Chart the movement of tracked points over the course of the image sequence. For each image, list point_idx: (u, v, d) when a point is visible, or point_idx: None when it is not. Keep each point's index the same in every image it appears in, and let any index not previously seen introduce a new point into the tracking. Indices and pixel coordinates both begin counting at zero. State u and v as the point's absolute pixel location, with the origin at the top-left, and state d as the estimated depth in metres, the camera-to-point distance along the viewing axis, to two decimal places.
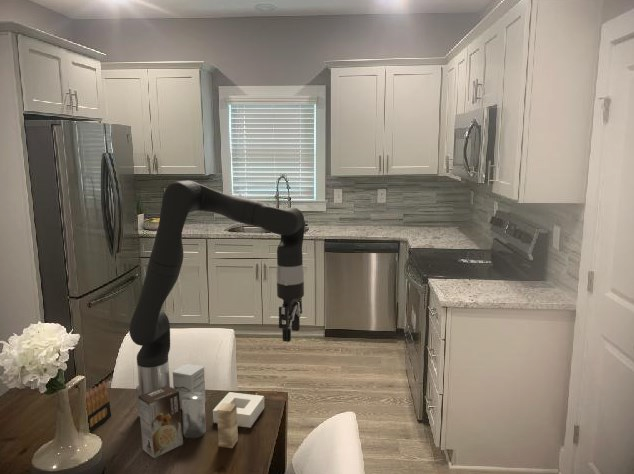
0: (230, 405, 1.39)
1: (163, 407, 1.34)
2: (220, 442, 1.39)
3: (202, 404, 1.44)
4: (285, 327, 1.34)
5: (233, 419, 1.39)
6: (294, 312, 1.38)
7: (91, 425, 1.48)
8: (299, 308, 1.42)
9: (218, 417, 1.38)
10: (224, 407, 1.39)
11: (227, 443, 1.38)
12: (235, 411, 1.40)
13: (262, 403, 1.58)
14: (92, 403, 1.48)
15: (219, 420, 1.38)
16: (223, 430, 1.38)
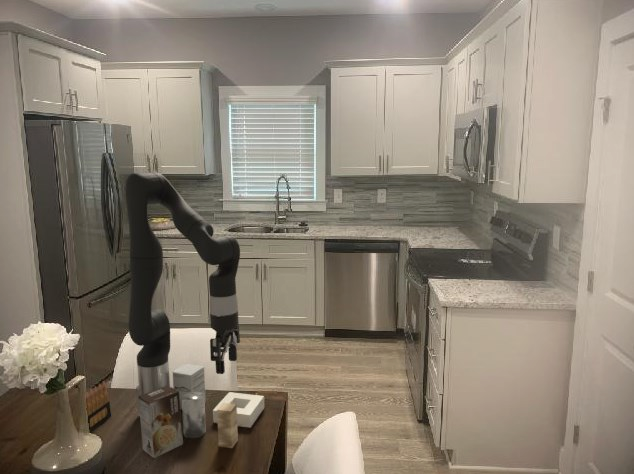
0: (230, 405, 1.39)
1: (163, 407, 1.34)
2: (220, 442, 1.39)
3: (202, 404, 1.44)
4: (217, 360, 1.30)
5: (233, 419, 1.39)
6: (228, 343, 1.34)
7: (91, 425, 1.48)
8: (235, 338, 1.39)
9: (218, 417, 1.38)
10: (224, 407, 1.39)
11: (227, 443, 1.38)
12: (235, 411, 1.40)
13: (262, 403, 1.58)
14: (92, 403, 1.48)
15: (219, 420, 1.38)
16: (223, 430, 1.38)
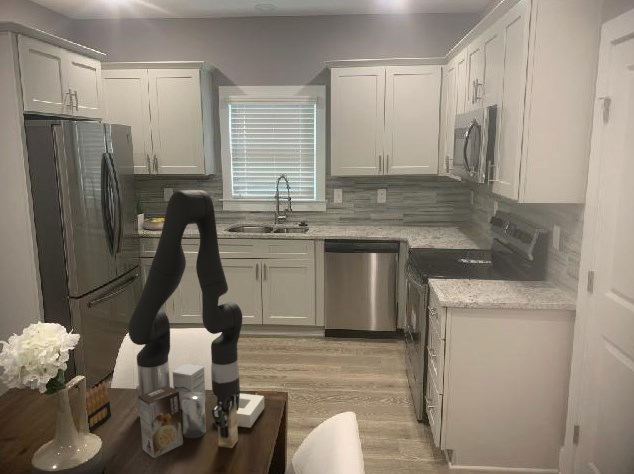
0: None
1: (163, 407, 1.34)
2: (220, 442, 1.39)
3: (202, 404, 1.44)
4: (221, 426, 1.34)
5: (233, 419, 1.39)
6: (230, 408, 1.37)
7: (91, 425, 1.48)
8: None
9: None
10: None
11: (227, 443, 1.38)
12: (235, 411, 1.40)
13: (262, 403, 1.58)
14: (92, 403, 1.48)
15: None
16: None
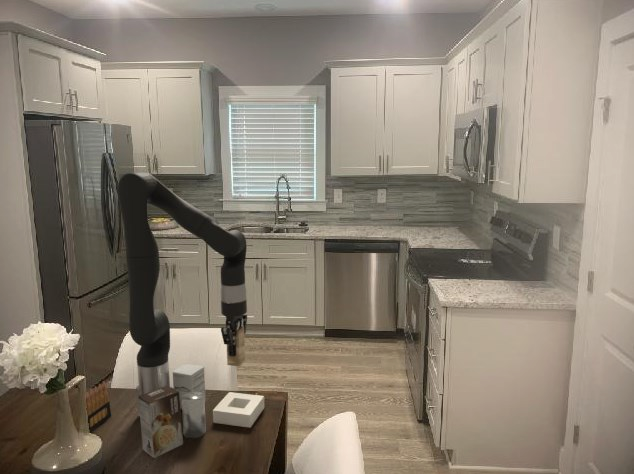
0: None
1: (163, 407, 1.34)
2: (228, 361, 1.49)
3: (202, 404, 1.44)
4: (229, 343, 1.45)
5: (241, 339, 1.49)
6: (237, 328, 1.47)
7: (91, 425, 1.48)
8: (242, 326, 1.51)
9: None
10: None
11: (235, 362, 1.49)
12: (243, 333, 1.50)
13: (262, 403, 1.58)
14: (92, 403, 1.48)
15: None
16: None
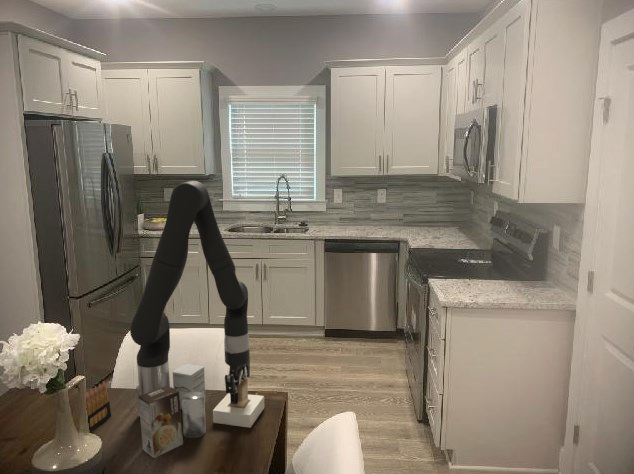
0: (242, 380, 1.54)
1: (163, 407, 1.34)
2: None
3: (202, 404, 1.44)
4: (232, 392, 1.48)
5: (245, 393, 1.53)
6: (240, 377, 1.51)
7: (91, 425, 1.48)
8: (246, 372, 1.55)
9: None
10: None
11: None
12: (246, 386, 1.54)
13: (262, 403, 1.58)
14: (92, 403, 1.48)
15: None
16: None
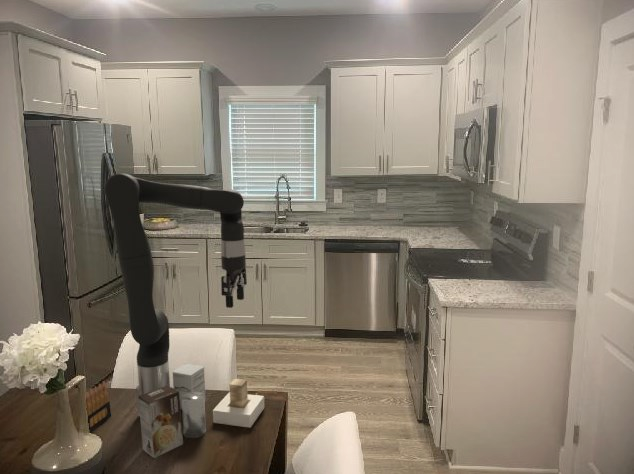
0: (241, 380, 1.54)
1: (163, 407, 1.34)
2: None
3: (202, 404, 1.44)
4: (227, 294, 1.52)
5: (244, 393, 1.54)
6: (236, 282, 1.56)
7: (91, 425, 1.48)
8: (242, 279, 1.61)
9: (230, 391, 1.53)
10: (235, 382, 1.54)
11: None
12: (246, 386, 1.55)
13: (262, 403, 1.58)
14: (92, 403, 1.48)
15: (231, 394, 1.53)
16: (235, 403, 1.53)
